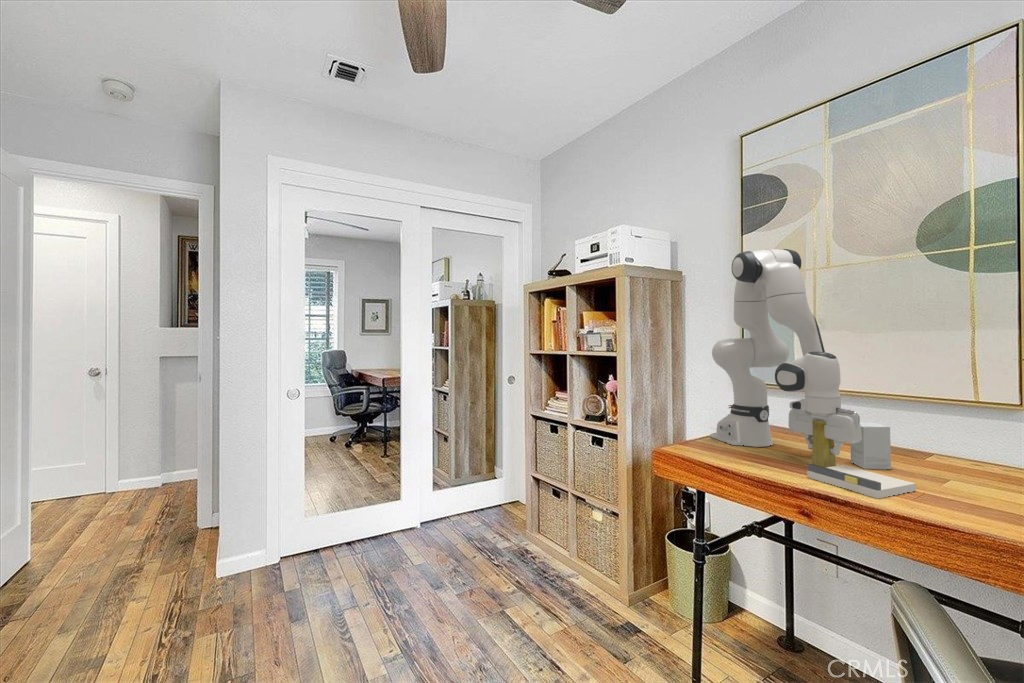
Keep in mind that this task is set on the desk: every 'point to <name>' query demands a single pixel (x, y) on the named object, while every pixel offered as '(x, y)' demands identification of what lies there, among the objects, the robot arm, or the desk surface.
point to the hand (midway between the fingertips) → (823, 451)
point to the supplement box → (872, 447)
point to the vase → (822, 446)
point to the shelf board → (860, 480)
